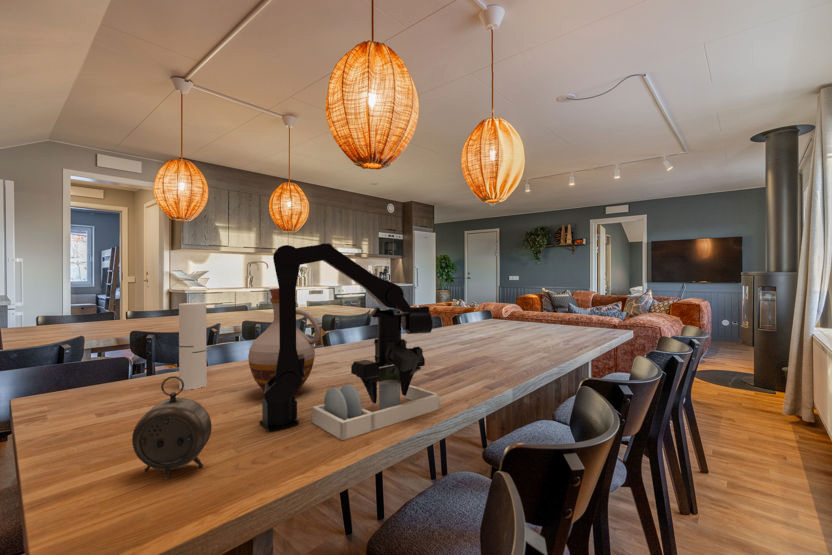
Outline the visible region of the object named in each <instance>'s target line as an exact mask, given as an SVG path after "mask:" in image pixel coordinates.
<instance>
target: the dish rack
mask: <svg viewBox="0 0 832 555" xmlns="http://www.w3.org/2000/svg"><path fill="white" fill-rule="evenodd" d="M360 396H361V395H360V394H359V391H358V389H357V388H356V387H355V386H354V385H352V384H344V385H343V386H342V387H341V388H340V389H339V388H338V387H330V388H329V389H327V391H326V393H325V396H324V401H323V404H319V405H314V406H312V407H311V418H312V419H311V423H312V424H314V425H316V427H319V428H321V429H322V430H324V431H325V432H328V433H329V434H330V435H333V437H335V438H337V439H339V440H341V441H345V440H349V439H352V438H355V437H358V436H360V435H361V436H362V435H363V434H367V433H370V432H373V431H376V430H379V429H381V428H385V427H388V426H391V425H396V424H398V423H401V422H404V421H407V420H410V419H413V418H416V417H419V416H422V415H426V414H429V413H432V412H435V411H438V410H441V409H442V408H441V405H442V404H441V402H442V399H441V394H440V393H437V392H433V391H430V390H427V389H424V388H420V387H418V386H414V385H411V384H410V385H409V388H408V391H407V394H406V396H404V395H403V398H404V399H406V400H409V401H408V402H407V401H406V402H403V403H400V405H397V406H393V407H390V408H386V409H383V410H379V409H378V410H376V411H370V410H367V409H365V408H364V407H363V405H362V400H361V399H362V398H361V397H360Z"/></svg>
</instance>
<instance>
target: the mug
mask: <svg viewBox="0 0 832 555" xmlns="http://www.w3.org/2000/svg"><path fill="white" fill-rule="evenodd" d="M404 340H405V345H406V346H407V345H408V341H407V340H406V339H404ZM373 344H374V350H375V351H374V353H375V354H374V357H375V356H376V355H378V344H377V343H375V340H374V342H373ZM374 362H378V360H375V359H374ZM384 365H387V364H384ZM377 376H380V378H379V379H378V381H379V382H381V381H385V380H396V381H399V382H400V375H399V370H398V368H397V367H391V368H386V369H381V370H379V373H378V374H377Z"/></svg>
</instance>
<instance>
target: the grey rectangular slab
mask: <svg viewBox="0 0 832 555" xmlns="http://www.w3.org/2000/svg"><path fill="white" fill-rule="evenodd" d="M400 404H401V384H400V381H396V380H385V381H379V382H378V411H379V410H383V409H386V408H390V407H393V406H397V405H400Z"/></svg>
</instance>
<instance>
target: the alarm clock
mask: <svg viewBox="0 0 832 555" xmlns="http://www.w3.org/2000/svg"><path fill="white" fill-rule="evenodd" d="M170 379H177V380H178V381H179V380H180V381H181V383H182V388H181V390H180V389H179V391H178V392H177V393H176V392H175V391H173V392H171V393H167V391H165V389H164V385H165V383H166V382H167V381H168V380H170ZM183 388H184V382H183V380H182V379H181V378H179V376H178V375H177V376H176V375H171V376H168V377H167V378H165V379H164V380H163V381H162V382H161V388H160V389H161V391H162V393H163V394H164V395H166V396H169V397H170V398H167V399H164V400H163V401H160V402H158V403H157V404H155V405H154V406H152V408H151V409H149V410H148V411H147V412H146V413H145V414H144V415H143V416H142V417H141V418H139V420H138V421H137V423H136V424H135V427H134V429H133V432H132V437H131V438H132V439H131V440H132V442H131V443H132V447H133V451H134V454H135V455H136V456H137V458H138V459H139V460H140V461H141V462H142V463H143V464H144V465H146V467H145V468H144V470H143V471H144V473H145V472H148V471H149V470H150V468H153V469H154V470H155V469H156V470H159V471H162V470H163V471H164V474H163V479H164V478H167V479H169V475H170V471H171V470H175V469H180V468H183V467H185V466H186V465H189V464H190V463H191V462H192V461H193V462H194V463H195V464H196V465H198V468H201V467H202V468H203V467H204V464H203V463H202V461H201V459H200V458H199V457H198V456H199V455H200V453H202V450H203V449H204V448H205V446H206V445H207V443H208V442H209V440H210V437H211V434H212V421H211V416H210V414H209V412H208V411H207V410H206V408H205V407H203V405H201V404H200V403H199V402H197V401H195V400H193V399H190V398H187V397H186V398H185V397H177V395H179V394H181V392H182V391H184V390H183ZM202 468H201V469H202Z"/></svg>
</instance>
